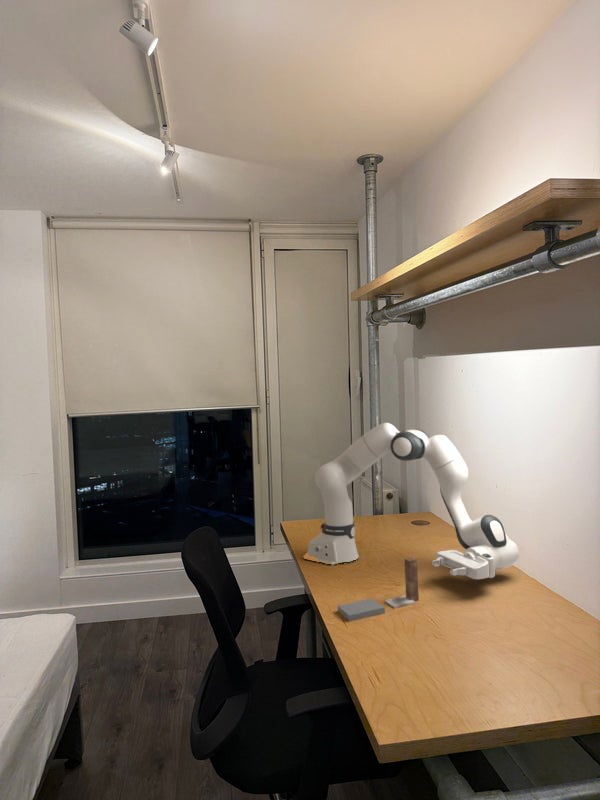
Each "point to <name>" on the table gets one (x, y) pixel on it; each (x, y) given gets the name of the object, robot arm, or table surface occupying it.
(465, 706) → the table surface
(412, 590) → the brown and white bookend
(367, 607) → the tile
